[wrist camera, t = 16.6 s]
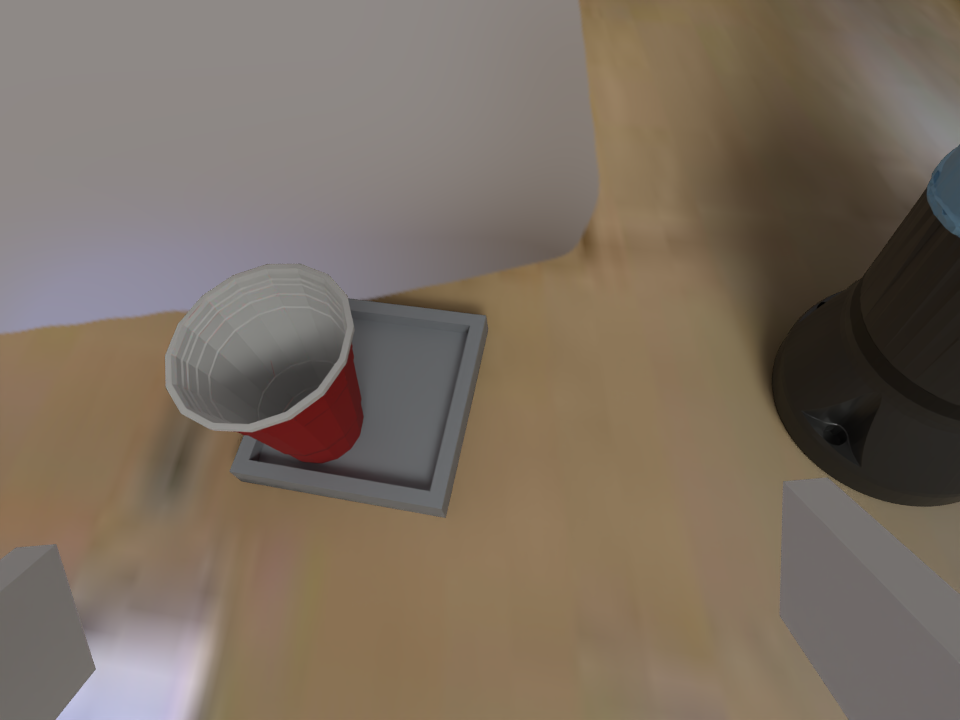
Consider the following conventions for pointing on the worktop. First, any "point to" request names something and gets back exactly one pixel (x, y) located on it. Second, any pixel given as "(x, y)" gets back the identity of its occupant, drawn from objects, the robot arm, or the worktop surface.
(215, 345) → the plastic cup
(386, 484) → the tray
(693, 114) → the worktop surface
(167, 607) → the worktop surface
